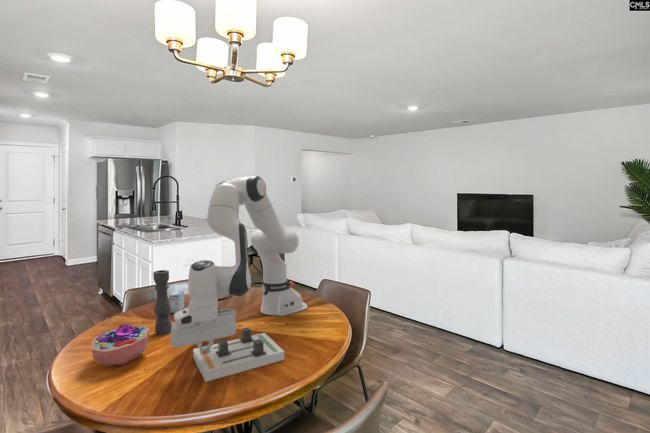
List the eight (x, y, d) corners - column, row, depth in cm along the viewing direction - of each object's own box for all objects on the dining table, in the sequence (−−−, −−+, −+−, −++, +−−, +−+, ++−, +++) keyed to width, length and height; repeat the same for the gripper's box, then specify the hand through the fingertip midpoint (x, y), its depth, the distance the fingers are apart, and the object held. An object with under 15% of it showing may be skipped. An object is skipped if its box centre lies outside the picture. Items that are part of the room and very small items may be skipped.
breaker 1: (250, 336, 130) (249, 326, 130) (253, 340, 127) (253, 329, 126) (239, 339, 128) (239, 328, 128) (243, 343, 124) (242, 332, 124)
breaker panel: (264, 340, 134) (264, 332, 134) (284, 359, 119) (284, 351, 119) (193, 357, 121) (193, 349, 120) (205, 381, 105) (204, 372, 105)
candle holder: (165, 336, 139) (162, 273, 137) (151, 334, 140) (149, 273, 138) (175, 329, 145) (172, 270, 143) (161, 328, 146) (159, 269, 144)
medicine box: (175, 307, 172) (174, 290, 171) (184, 307, 172) (184, 290, 172) (169, 313, 164) (169, 295, 163) (179, 313, 165) (178, 295, 164)
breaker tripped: (227, 349, 120) (227, 338, 119) (230, 354, 116) (230, 342, 116) (215, 352, 118) (215, 340, 117) (218, 357, 114) (218, 345, 114)
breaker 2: (261, 349, 120) (261, 337, 119) (266, 353, 116) (266, 342, 116) (250, 352, 118) (250, 340, 117) (254, 356, 114) (254, 345, 114)
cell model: (76, 375, 110) (73, 340, 109) (116, 346, 130) (115, 316, 129) (128, 376, 109) (126, 341, 108) (161, 347, 129) (160, 317, 128)
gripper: (233, 303, 121) (234, 342, 122) (168, 314, 110) (170, 357, 111) (238, 308, 115) (239, 349, 117) (171, 321, 105) (173, 365, 106)
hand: (205, 353), depth 114 cm, fingers closed
